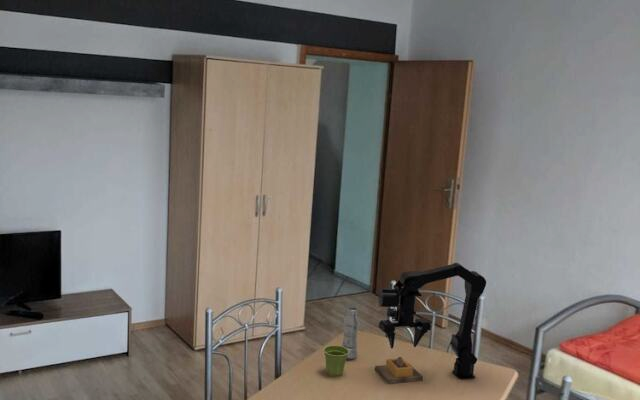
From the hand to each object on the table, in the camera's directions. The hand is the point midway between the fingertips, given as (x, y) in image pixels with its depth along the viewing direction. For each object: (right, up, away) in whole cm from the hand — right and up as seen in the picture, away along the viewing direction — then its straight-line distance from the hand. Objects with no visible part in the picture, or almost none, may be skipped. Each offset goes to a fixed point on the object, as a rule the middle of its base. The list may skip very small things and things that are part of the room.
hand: (403, 347), depth 242 cm
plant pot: (-25, -10, 0) cm, 27 cm away
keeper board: (-1, -11, +2) cm, 11 cm away
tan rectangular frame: (-1, -9, +2) cm, 9 cm away
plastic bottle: (-19, -7, +15) cm, 25 cm away
